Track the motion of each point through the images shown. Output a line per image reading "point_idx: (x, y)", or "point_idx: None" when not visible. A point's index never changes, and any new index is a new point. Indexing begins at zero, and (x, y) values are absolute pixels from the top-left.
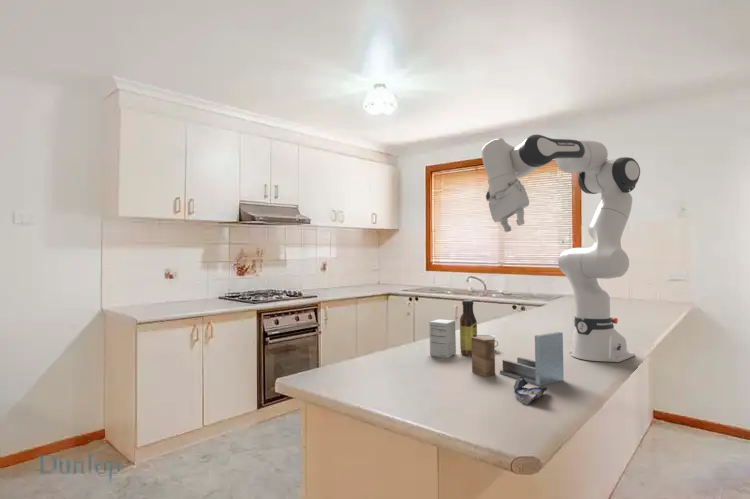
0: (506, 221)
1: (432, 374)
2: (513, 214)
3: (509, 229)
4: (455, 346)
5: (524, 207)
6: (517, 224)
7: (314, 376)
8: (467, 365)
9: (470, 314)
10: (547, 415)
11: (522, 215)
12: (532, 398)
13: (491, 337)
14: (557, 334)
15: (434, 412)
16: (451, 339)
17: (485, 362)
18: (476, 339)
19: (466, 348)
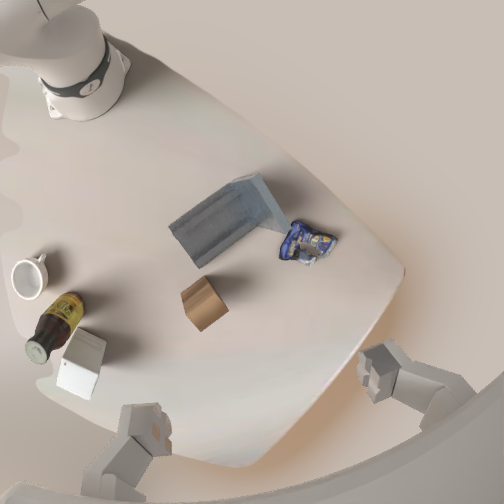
0: (123, 481)
1: (210, 359)
2: (262, 494)
3: (160, 418)
4: (76, 333)
5: (495, 382)
6: (362, 379)
7: (230, 454)
8: (151, 313)
9: (55, 334)
10: (351, 239)
11: (433, 375)
12: (328, 247)
13: (37, 268)
14: (266, 186)
15: (338, 338)
16: (87, 348)
17: (220, 297)
18: (211, 323)
19: (82, 315)
